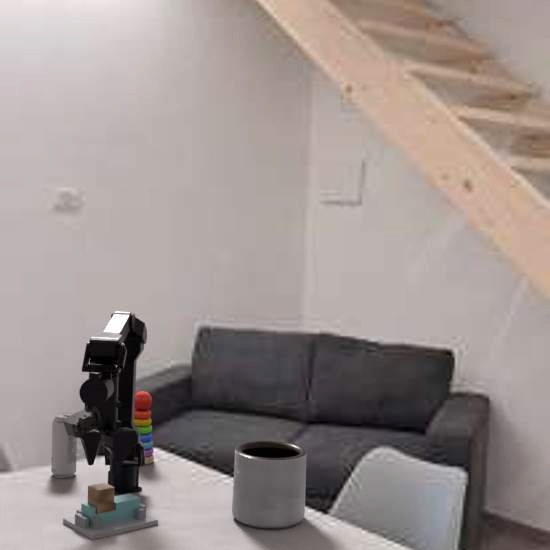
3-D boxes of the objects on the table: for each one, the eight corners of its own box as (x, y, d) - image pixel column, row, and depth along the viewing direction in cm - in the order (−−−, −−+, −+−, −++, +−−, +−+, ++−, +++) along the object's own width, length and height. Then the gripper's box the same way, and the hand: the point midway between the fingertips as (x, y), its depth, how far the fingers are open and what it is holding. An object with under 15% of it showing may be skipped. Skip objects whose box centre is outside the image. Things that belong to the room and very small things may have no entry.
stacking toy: (129, 467, 245) (131, 395, 244) (119, 459, 252) (121, 389, 251) (158, 464, 249) (160, 393, 247) (147, 456, 256) (149, 387, 254)
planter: (292, 535, 200) (296, 463, 199) (221, 524, 205) (224, 453, 204) (312, 512, 216) (315, 445, 214) (245, 503, 220) (248, 437, 219)
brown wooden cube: (103, 505, 204) (104, 482, 203) (113, 510, 201) (114, 487, 200) (87, 508, 201) (88, 485, 201) (97, 514, 198) (97, 490, 198)
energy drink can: (58, 470, 240) (60, 411, 238) (80, 473, 238) (81, 414, 237) (46, 476, 234) (48, 416, 233) (68, 479, 232) (70, 419, 231)
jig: (127, 509, 213) (127, 495, 212) (158, 524, 204) (158, 510, 203) (63, 522, 202) (63, 509, 202) (92, 539, 193) (92, 525, 193)
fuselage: (129, 511, 208) (129, 493, 208) (139, 516, 205) (140, 498, 205) (80, 521, 200) (81, 503, 200) (90, 527, 197) (91, 508, 197)
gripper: (47, 392, 201) (45, 465, 202) (93, 409, 187) (91, 487, 188) (93, 387, 208) (91, 457, 209) (141, 403, 194) (139, 478, 195)
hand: (102, 470), depth 200 cm, fingers open, 9 cm apart
